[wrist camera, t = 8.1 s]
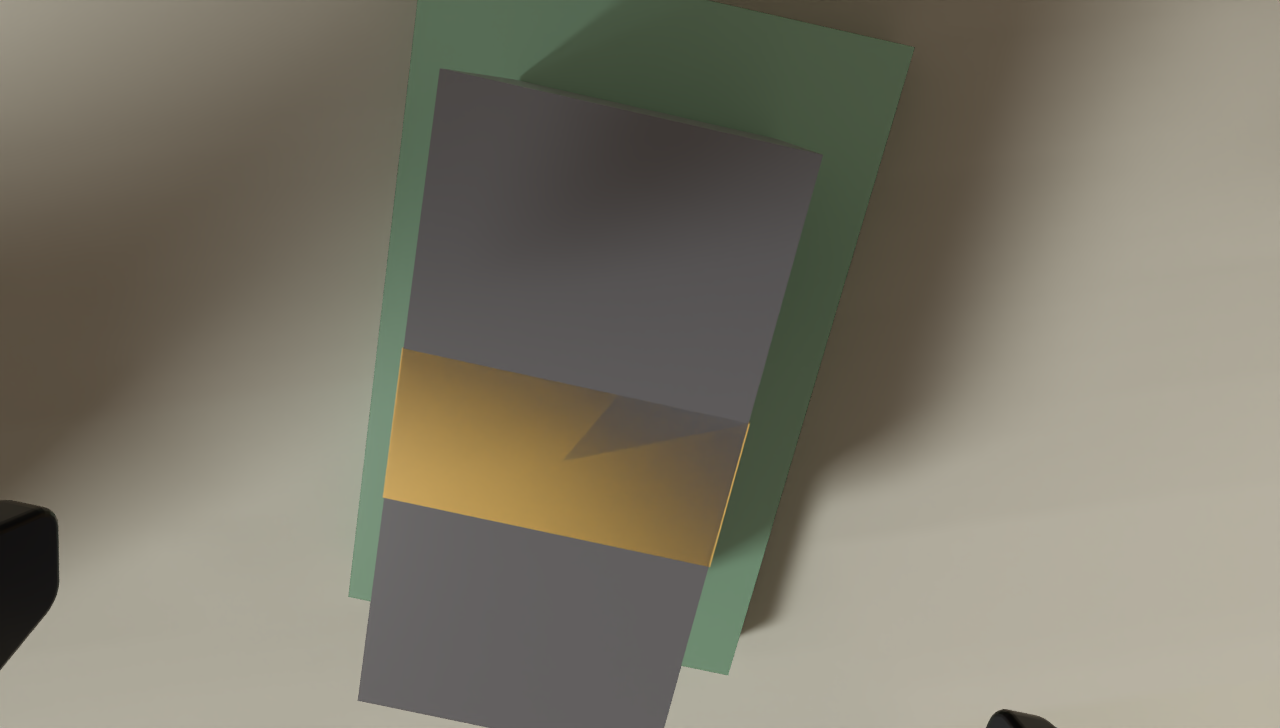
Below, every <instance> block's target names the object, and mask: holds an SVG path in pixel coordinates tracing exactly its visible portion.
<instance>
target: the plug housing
mask: <svg viewBox="0 0 1280 728" xmlns="http://www.w3.org/2000/svg"><path fill="white" fill-rule="evenodd" d="M822 157H823V155H822V154H819V153H816V152H813V151H811V150H808V149H805V148H802V147H799V146H796V145H793V144H790V143H787V142H785V141H782V140H779V139H775V138H771V137H766V136H762V135H758V134H753V133H749V132H744V131H740V130H736V129H731V128H727V127H722V126H718V125H713V124H709V123H705V122H700V121H696V120H691V119H687V118H683V117H678V116H674V115H669V114H665V113H660V112H656V111H652V110H647V109H643V108H638V107H634V106H630V105H625V104H621V103H616V102H612V101H607V100H603V99H599V98H594V97H590V96H585V95H581V94H577V93H572V92H568V91H563V90H559V89H554V88H550V87H546V86H541V85H537V84H532V83H528V82H524V81H519V80H515V79H508V78H502V77H495V76H488V75H482V74H475V73H469V72H462V71H455V70H449V69H442V68H440V70H439V77H438V85H437V93H436V101H435V108H434V116H433V124H432V132H431V139H430V147H429V155H428V162H427V170H426V178H425V186H424V193H423V201H422V209H421V216H420V224H419V232H418V240H417V247H416V255H415V263H414V271H413V278H412V286H411V294H410V301H409V309H408V317H407V325H406V332H405V340H404V347H403V348H402V352H401V360H400V368H399V375H398V383H397V391H396V399H395V406H394V414H393V422H392V430H391V437H390V445H389V453H388V461H387V468H386V476H385V484H384V492H383V498H384V502H383V510H382V518H381V525H380V533H379V541H378V548H377V556H376V564H375V572H374V579H373V587H372V595H371V603H370V610H369V618H368V626H367V633H366V641H365V649H364V657H363V664H362V672H361V680H360V687H359V695H358V701H362V702H367V703H372V704H377V705H382V706H387V707H391V708H396V709H401V710H406V711H411V712H416V713H420V714H425V715H430V716H435V717H440V718H445V719H450V720H454V721H459V722H464V723H469V724H474V725H479V726H484V727H488V728H664V726H665V723H666V719H667V715H668V712H669V708H670V705H671V701H672V697H673V694H674V690H675V687H676V683H677V679H678V676H679V672H680V669H681V665H682V661H683V658H684V654H685V651H686V647H687V643H688V640H689V636H690V633H691V629H692V625H693V622H694V618H695V615H696V611H697V607H698V604H699V600H700V597H701V593H702V589H703V586H704V582H705V579H706V575H707V571H708V568H709V567H710V565H711V562H712V558H713V555H714V551H715V548H716V544H717V540H718V537H719V533H720V530H721V526H722V522H723V519H724V515H725V512H726V508H727V504H728V501H729V497H730V494H731V490H732V486H733V483H734V479H735V476H736V472H737V468H738V465H739V461H740V458H741V454H742V451H743V447H744V443H745V440H746V436H747V433H748V429H749V425H750V422H749V420H750V417H751V413H752V409H753V406H754V402H755V399H756V395H757V391H758V388H759V384H760V381H761V377H762V373H763V370H764V366H765V363H766V359H767V355H768V352H769V348H770V345H771V341H772V337H773V334H774V330H775V327H776V323H777V319H778V316H779V312H780V309H781V305H782V301H783V298H784V294H785V291H786V287H787V283H788V280H789V276H790V273H791V269H792V265H793V262H794V258H795V255H796V251H797V247H798V244H799V240H800V237H801V233H802V229H803V226H804V222H805V219H806V215H807V211H808V208H809V204H810V201H811V197H812V193H813V190H814V186H815V183H816V179H817V175H818V172H819V168H820V165H821V161H822Z"/></svg>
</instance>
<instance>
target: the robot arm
mask: <svg viewBox="0 0 1280 728" xmlns="http://www.w3.org/2000/svg"><path fill="white" fill-rule="evenodd" d="M58 587H59V541H58V520H57V518H56V516H55V514H54V513H53V512H52V511H51V510H49V509H48V508H45V507H40V506H36V505H31V504H26V503H22V502H17V501H12V500H1V501H0V670H1V669H2V667H3V666H4V665H5V664H6V663H7V661H8V660H9V659H10V658H11V656H12V655H13V654H14V653H15V652H16V650H17V649H18V648H19V647H20V645H21V644H22V643H23V642H24V641H25V639H26V638H27V637H28V636H29V634H30V633H31V632H32V631H33V630H34V628H35V627H36V626H37V625H38V623H39V622H40V621H41V620H42V619H43V617H44V616H45V615H46V614H47V612H48V611H49V609H50V608H51V606H52V604H53V602H54V600H55V598H56V595H57V591H58ZM986 728H1056V727H1055V726H1054V725H1052V724H1051V723H1050V722H1049V721H1047V720H1046V719H1044V718H1042V717H1040V716H1036V715H1031V714H1027V713H1022V712H1017V711H1012V710H1007V709H1002V710H999V711H997V712H995V713H994V714H993V715H992V717H991V718H990V720H989V722H988V724H987V727H986Z"/></svg>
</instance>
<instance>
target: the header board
mask: <svg viewBox="0 0 1280 728" xmlns="http://www.w3.org/2000/svg"><path fill="white" fill-rule="evenodd" d="M914 48H915V47H912V46H907V45H903V44H898V43H894V42H890V41H885V40H881V39H876V38H872V37H868V36H863V35H859V34H854V33H850V32H846V31H841V30H837V29H832V28H828V27H824V26H819V25H815V24H810V23H806V22H802V21H797V20H793V19H788V18H784V17H780V16H775V15H771V14H766V13H762V12H758V11H753V10H749V9H744V8H740V7H736V6H731V5H727V4H722V3H718V2H714V1H709V0H418V1H417V10H416V18H415V27H414V35H413V44H412V53H411V61H410V70H409V79H408V87H407V96H406V104H405V113H404V122H403V130H402V139H401V147H400V156H399V165H398V173H397V182H396V191H395V199H394V208H393V216H392V225H391V234H390V242H389V251H388V259H387V268H386V277H385V285H384V294H383V303H382V311H381V320H380V328H379V337H378V346H377V354H376V363H375V371H374V380H373V389H372V397H371V406H370V415H369V423H368V432H367V440H366V449H365V458H364V466H363V475H362V483H361V492H360V501H359V509H358V518H357V527H356V535H355V544H354V552H353V561H352V570H351V578H350V587H349V596H348V597H352V598H357V599H362V600H366V601H371V595H372V587H373V579H374V572H375V564H376V556H377V548H378V541H379V533H380V525H381V518H382V510H383V502H384V498H383V492H384V484H385V476H386V468H387V461H388V453H389V445H390V437H391V430H392V422H393V414H394V406H395V399H396V391H397V383H398V375H399V368H400V360H401V352H402V348H403V347H404V340H405V332H406V325H407V317H408V309H409V301H410V294H411V286H412V278H413V271H414V263H415V255H416V247H417V240H418V232H419V224H420V216H421V209H422V201H423V193H424V186H425V178H426V170H427V162H428V155H429V147H430V139H431V132H432V124H433V116H434V108H435V101H436V93H437V85H438V77H439V70H440V68H442V69H449V70H455V71H462V72H469V73H475V74H482V75H488V76H495V77H502V78H508V79H515V80H519V81H524V82H528V83H532V84H537V85H541V86H546V87H550V88H554V89H559V90H563V91H568V92H572V93H577V94H581V95H585V96H590V97H594V98H599V99H603V100H607V101H612V102H616V103H621V104H625V105H630V106H634V107H638V108H643V109H647V110H652V111H656V112H660V113H665V114H669V115H674V116H678V117H683V118H687V119H691V120H696V121H700V122H705V123H709V124H713V125H718V126H722V127H727V128H731V129H736V130H740V131H744V132H749V133H753V134H758V135H762V136H766V137H771V138H775V139H779V140H782V141H785V142H787V143H790V144H793V145H796V146H799V147H802V148H805V149H808V150H811V151H813V152H816V153H819V154H822V155H823V157H822V161H821V165H820V168H819V172H818V175H817V179H816V183H815V186H814V190H813V193H812V197H811V201H810V204H809V208H808V211H807V215H806V219H805V222H804V226H803V229H802V233H801V237H800V240H799V244H798V247H797V251H796V255H795V258H794V262H793V265H792V269H791V273H790V276H789V280H788V283H787V287H786V291H785V294H784V298H783V301H782V305H781V309H780V312H779V316H778V319H777V323H776V327H775V330H774V334H773V337H772V341H771V345H770V348H769V352H768V355H767V359H766V363H765V366H764V370H763V373H762V377H761V381H760V384H759V388H758V391H757V395H756V399H755V402H754V406H753V409H752V413H751V417H750V420H749V422H750V425H749V429H748V433H747V436H746V440H745V443H744V447H743V451H742V454H741V458H740V461H739V465H738V468H737V472H736V476H735V479H734V483H733V486H732V490H731V494H730V497H729V501H728V504H727V508H726V512H725V515H724V519H723V522H722V526H721V530H720V533H719V537H718V540H717V544H716V548H715V551H714V555H713V558H712V562H711V565H710V567H709V568H708V571H707V575H706V579H705V582H704V586H703V589H702V593H701V597H700V600H699V604H698V607H697V611H696V615H695V618H694V622H693V625H692V629H691V633H690V636H689V640H688V643H687V647H686V651H685V654H684V658H683V661H682V665H681V666H685V667H690V668H695V669H700V670H705V671H709V672H714V673H719V674H724V675H728V673H729V670H730V667H731V663H732V660H733V657H734V653H735V650H736V647H737V643H738V640H739V637H740V633H741V630H742V626H743V623H744V620H745V616H746V613H747V610H748V606H749V603H750V600H751V596H752V593H753V589H754V586H755V583H756V579H757V576H758V573H759V569H760V566H761V563H762V559H763V556H764V552H765V549H766V546H767V542H768V539H769V536H770V532H771V529H772V526H773V522H774V519H775V515H776V512H777V509H778V505H779V502H780V499H781V495H782V492H783V489H784V485H785V482H786V479H787V475H788V472H789V468H790V465H791V462H792V458H793V455H794V452H795V448H796V445H797V442H798V438H799V435H800V431H801V428H802V425H803V421H804V418H805V415H806V411H807V408H808V405H809V401H810V398H811V394H812V391H813V388H814V384H815V381H816V378H817V374H818V371H819V368H820V364H821V361H822V357H823V354H824V351H825V347H826V344H827V341H828V337H829V334H830V331H831V327H832V324H833V321H834V317H835V314H836V310H837V307H838V304H839V300H840V297H841V294H842V290H843V287H844V284H845V280H846V277H847V273H848V270H849V267H850V263H851V260H852V257H853V253H854V250H855V247H856V243H857V240H858V236H859V233H860V230H861V226H862V223H863V220H864V216H865V213H866V210H867V206H868V203H869V199H870V196H871V193H872V189H873V186H874V183H875V179H876V176H877V173H878V169H879V166H880V163H881V159H882V156H883V152H884V149H885V146H886V142H887V139H888V136H889V132H890V129H891V126H892V122H893V119H894V115H895V112H896V109H897V105H898V102H899V99H900V95H901V92H902V89H903V85H904V82H905V78H906V75H907V72H908V68H909V65H910V62H911V58H912V55H913V52H914Z"/></svg>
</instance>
